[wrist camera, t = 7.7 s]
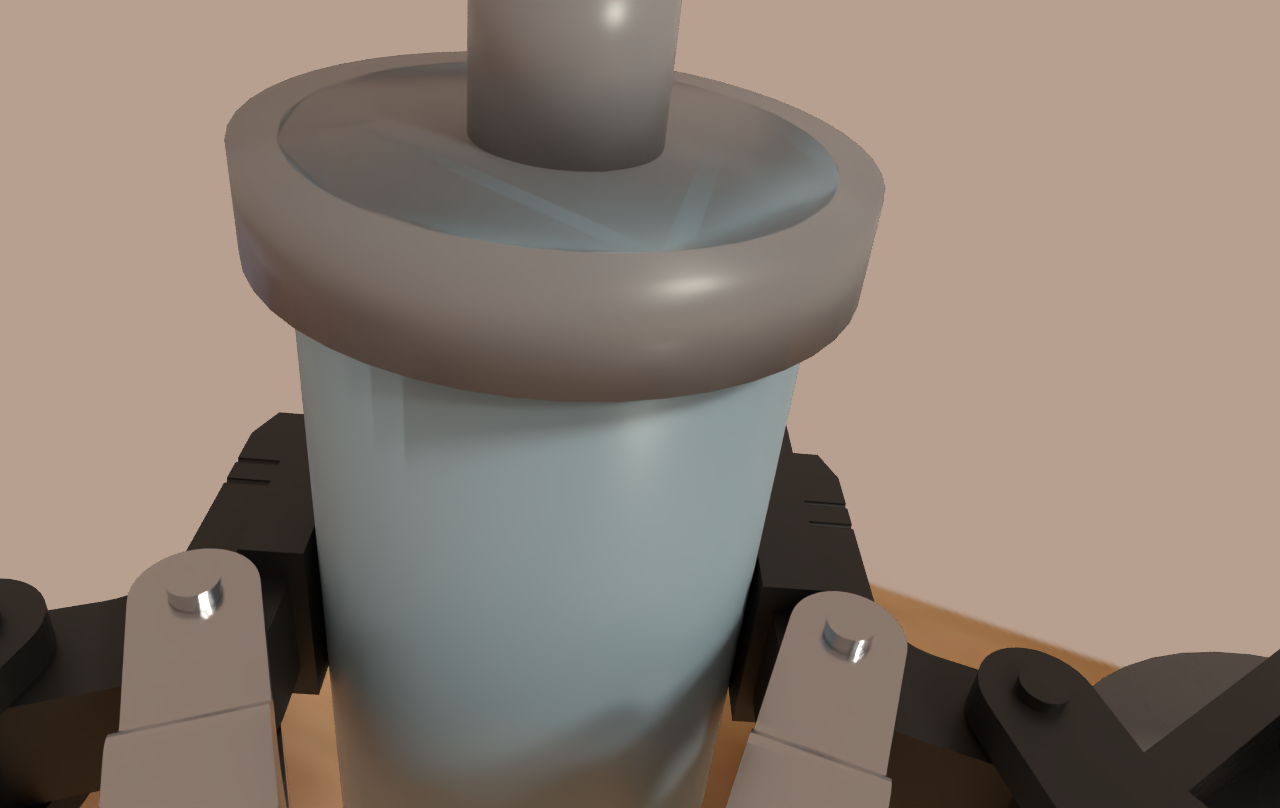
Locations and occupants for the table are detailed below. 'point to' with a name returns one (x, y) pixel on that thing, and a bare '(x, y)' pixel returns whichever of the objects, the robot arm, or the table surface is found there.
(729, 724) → the table surface
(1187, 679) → the dark grey holder
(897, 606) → the table surface
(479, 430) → the grey lidded canister
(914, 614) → the table surface
